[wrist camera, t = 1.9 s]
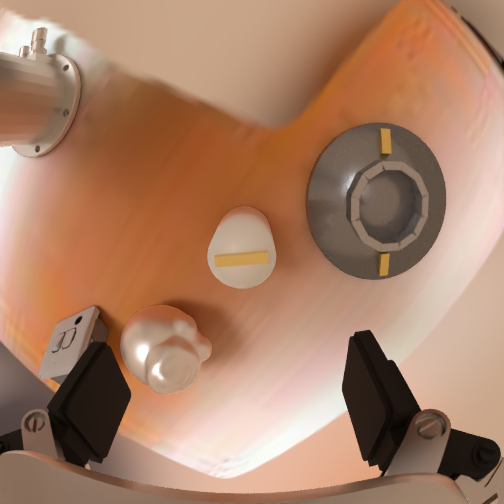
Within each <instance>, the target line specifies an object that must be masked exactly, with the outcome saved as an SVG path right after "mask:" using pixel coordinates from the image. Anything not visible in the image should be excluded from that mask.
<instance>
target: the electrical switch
mask: <svg viewBox="0 0 504 504" xmlns="http://www.w3.org/2000/svg"><path fill="white" fill-rule="evenodd" d="M99 313H100V311H99V309H98V308H97V307H96V306H92V307H90V308H87V309H85V310H83V311H81V312H79V313H77V314H75V315H73V316H71V317H69V318H66V319H64V320H62V321H60V322H58V323H57V325H56V326H55V329H54V331H53V333H52V336H51V338H50V341H49V343H48V346H47V348H46V351H45V354H44V357H43V359H42V362H41V365H40V368H39V371H38V375H39V376H40V377H41V378H42V379H47V378H51V379H52V380H54V381H56V382H57V383H58V384H60V385H62V383H63V382H64V380H65V379H66V377H67V376H68V374H69V373H70V371H71V370H72V368H73V367H74V366H75V364H76V363H77V361H78V360H79V358H80V357H81V356H82V354H83V353H84V351H85V350H86V349H87V347H88V346H89V345H90V343H91V342H92V341H97V340H98V341H99V342H106V340H107V337H108V333H109V330H110V329H109V328H108V327H107V326H106V325H105V324H104V323H103V322H102V320H101V319H100V318H98V315H99ZM95 339H97V340H95Z"/></svg>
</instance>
